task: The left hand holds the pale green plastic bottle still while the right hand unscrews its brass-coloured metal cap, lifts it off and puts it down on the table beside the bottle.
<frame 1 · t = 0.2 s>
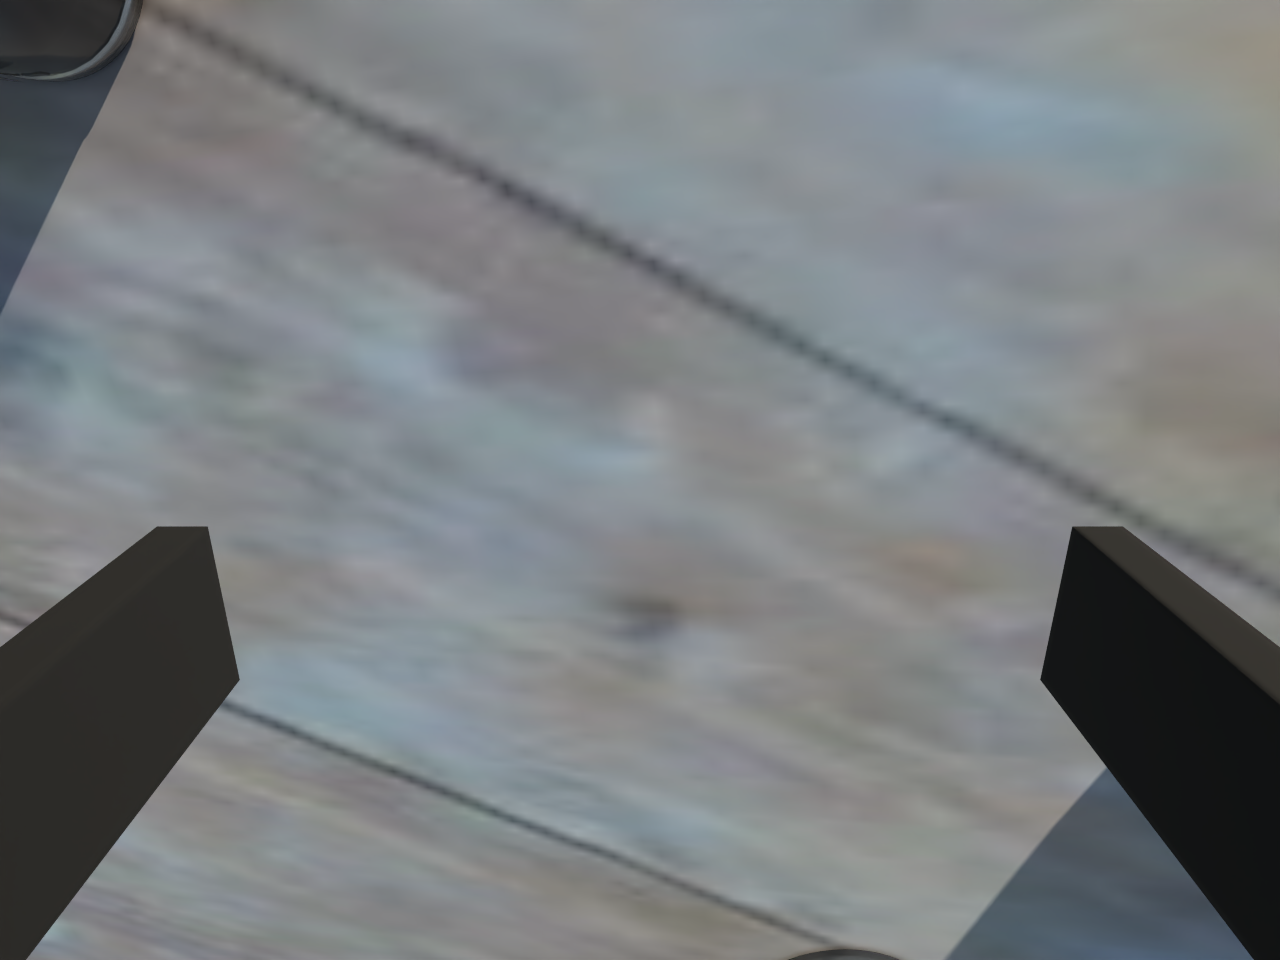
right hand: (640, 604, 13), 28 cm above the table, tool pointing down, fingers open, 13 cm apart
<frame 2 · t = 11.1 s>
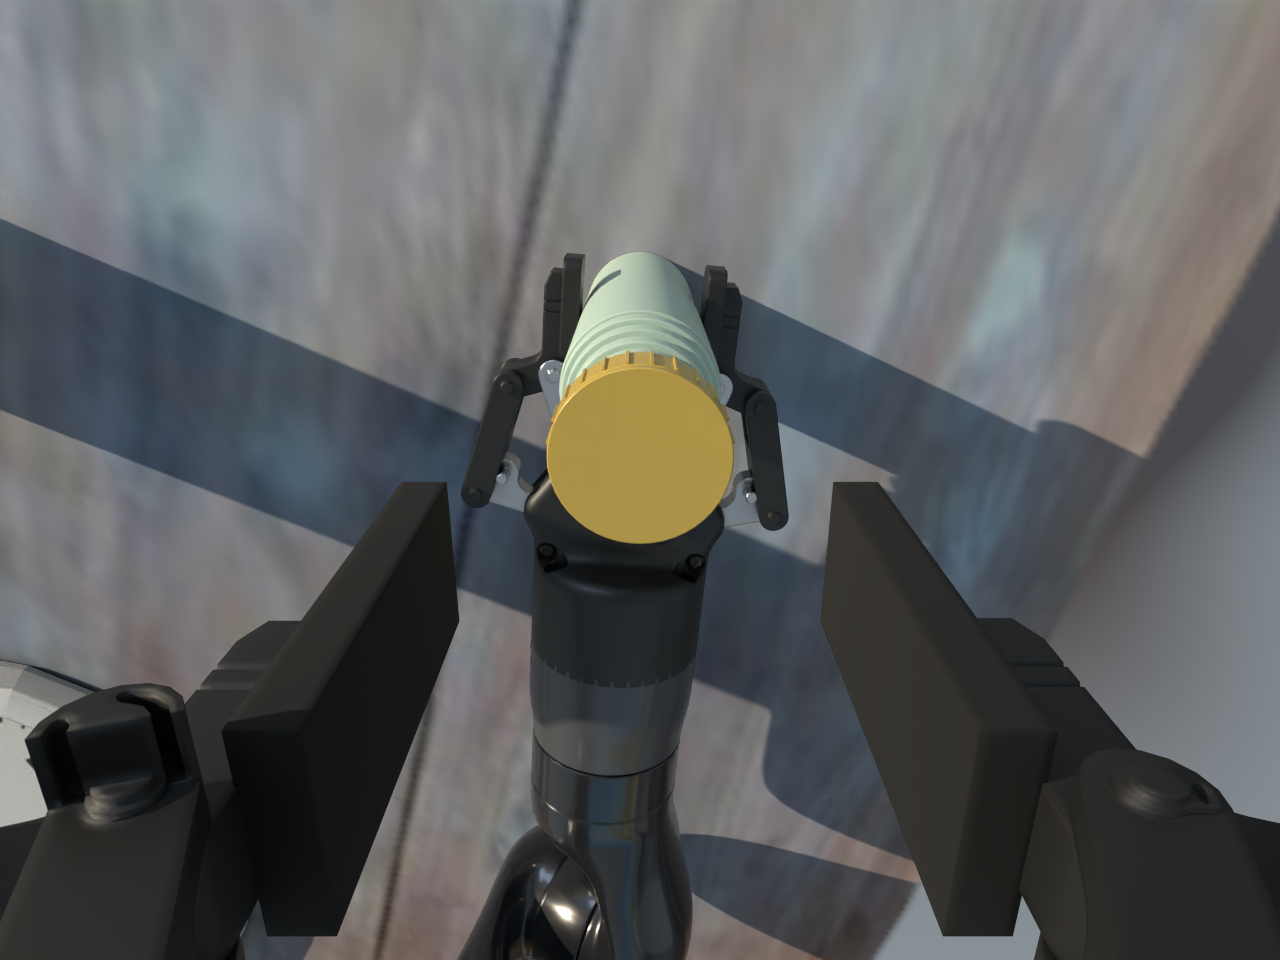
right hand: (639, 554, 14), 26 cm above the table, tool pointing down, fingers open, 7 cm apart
left hand: (645, 264, 32), fingers closed on bottle, 4 cm apart
bottle: (640, 304, 39), on the table, touching left hand
wall clock: (5, 857, 51), on the table
cap: (640, 455, 19), point 21 cm above the table, screwed on, not yet turned
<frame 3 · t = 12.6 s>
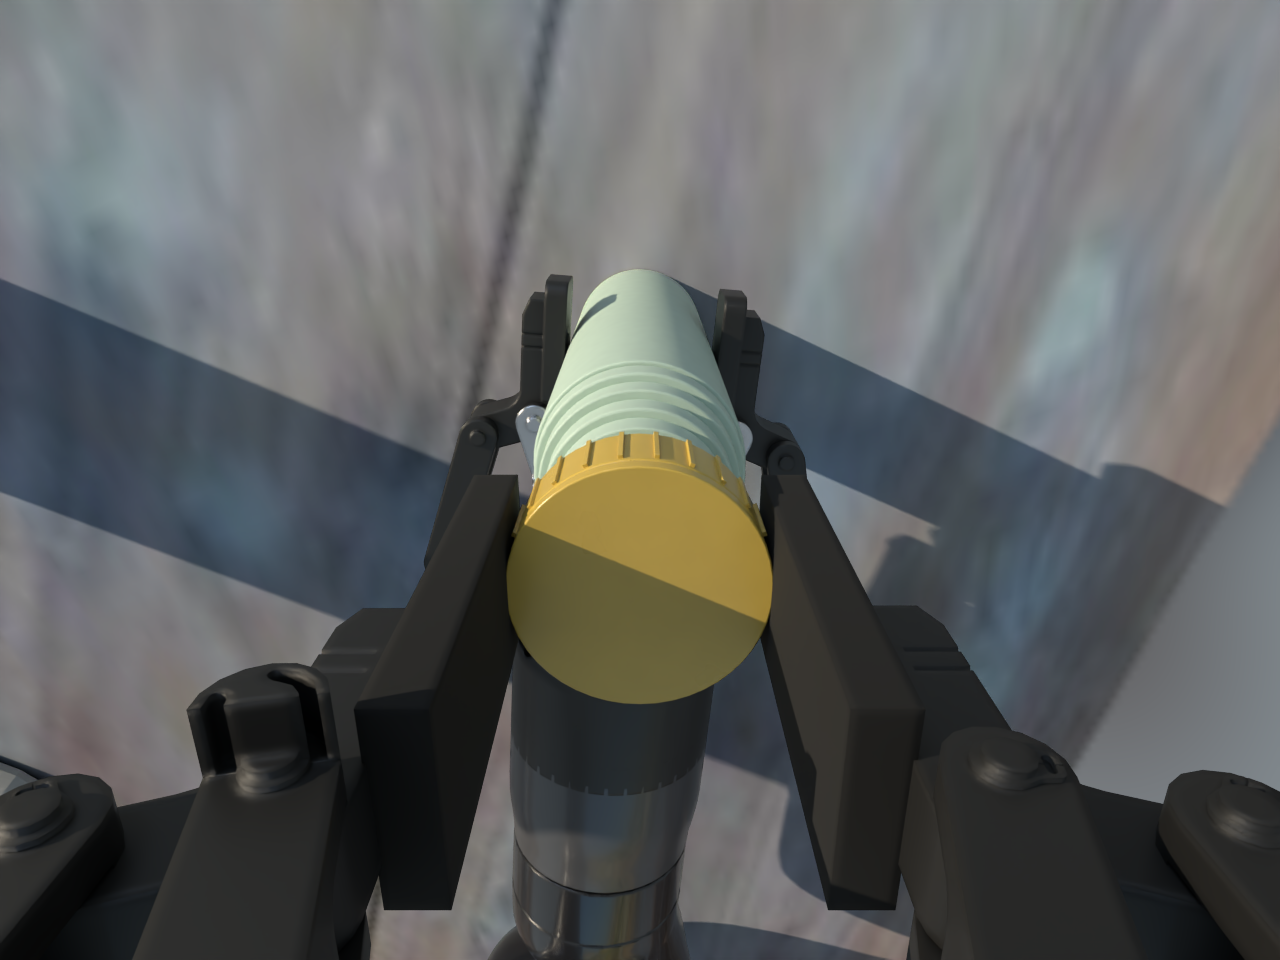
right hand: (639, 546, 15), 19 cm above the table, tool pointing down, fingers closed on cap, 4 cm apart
left hand: (645, 288, 26), fingers closed on bottle, 4 cm apart
bottle: (639, 330, 33), on the table, touching left hand
cap: (639, 583, 13), point 21 cm above the table, screwed on, not yet turned, touching right hand
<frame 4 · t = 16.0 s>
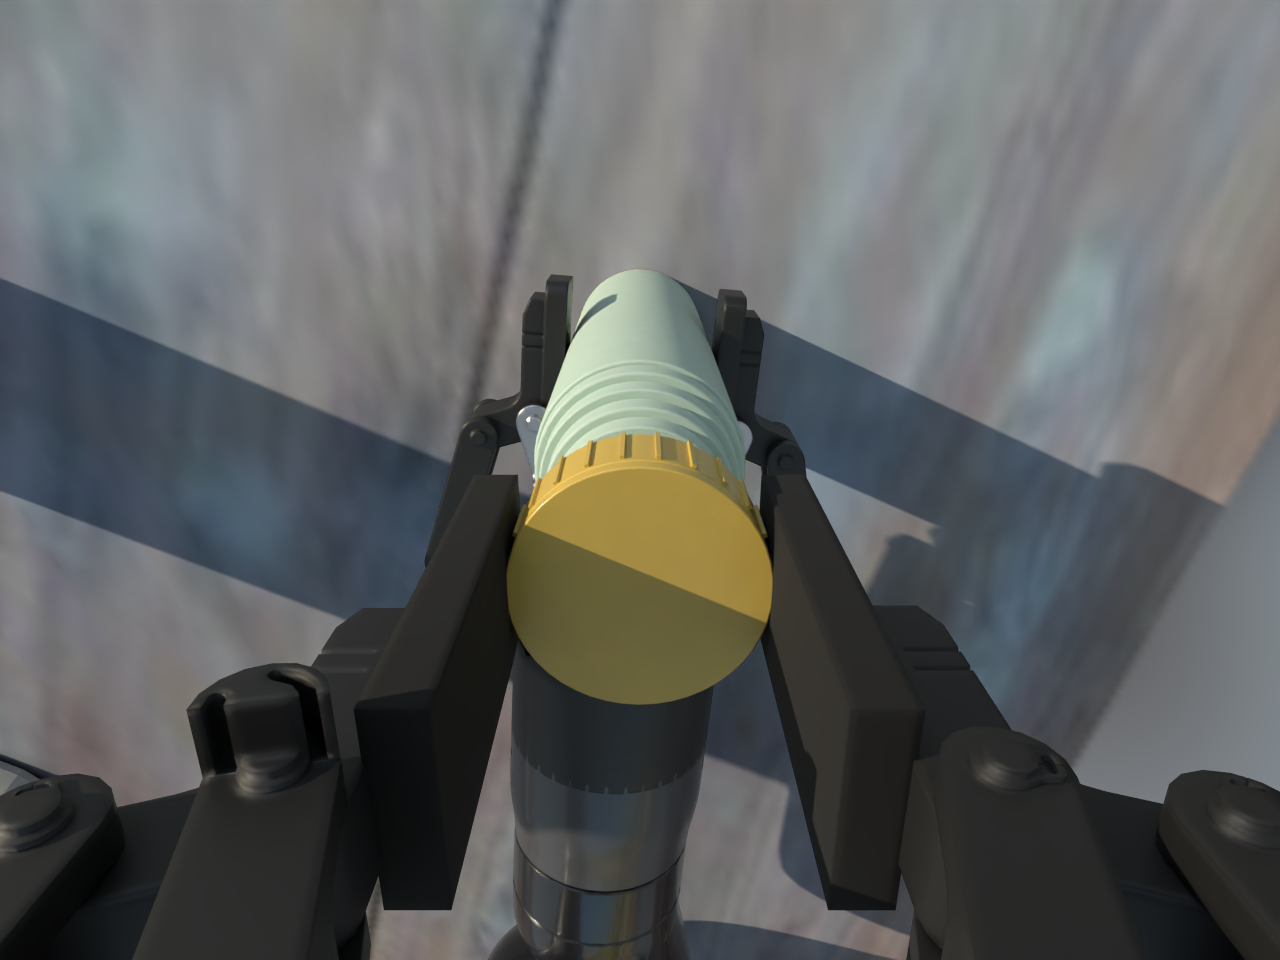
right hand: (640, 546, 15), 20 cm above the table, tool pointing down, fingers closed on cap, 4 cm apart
left hand: (645, 288, 26), fingers closed on bottle, 4 cm apart
bottle: (639, 330, 33), on the table, touching left hand
cap: (639, 584, 13), point 21 cm above the table, turned 104° so far, risen 0.1 cm, still on its thread, touching right hand
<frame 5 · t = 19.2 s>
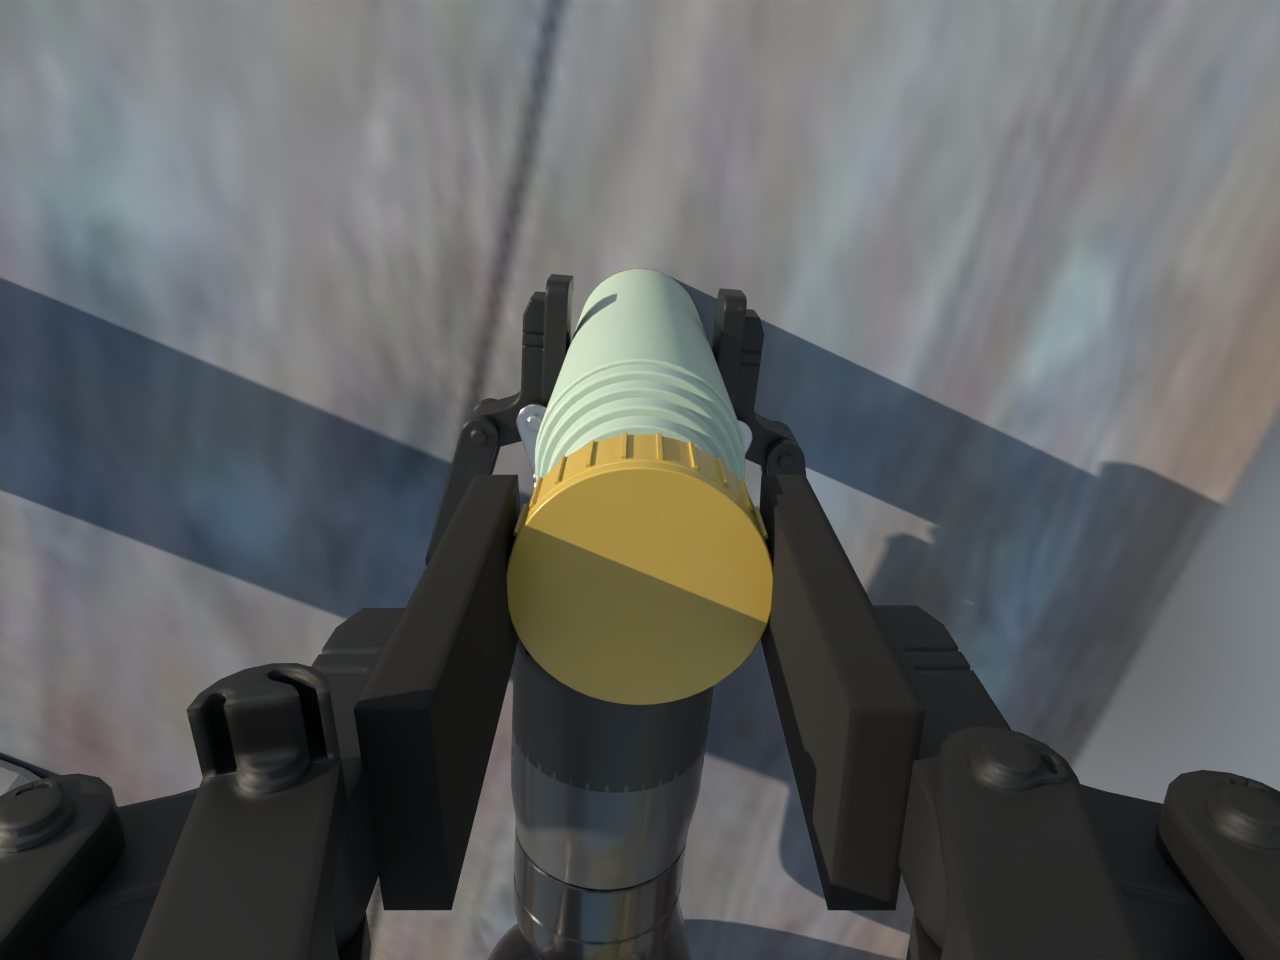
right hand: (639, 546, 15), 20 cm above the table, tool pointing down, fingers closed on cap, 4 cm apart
left hand: (645, 287, 26), fingers closed on bottle, 4 cm apart
bottle: (639, 330, 33), on the table, touching left hand
cap: (640, 584, 13), point 21 cm above the table, turned 209° so far, risen 0.2 cm, still on its thread, touching right hand
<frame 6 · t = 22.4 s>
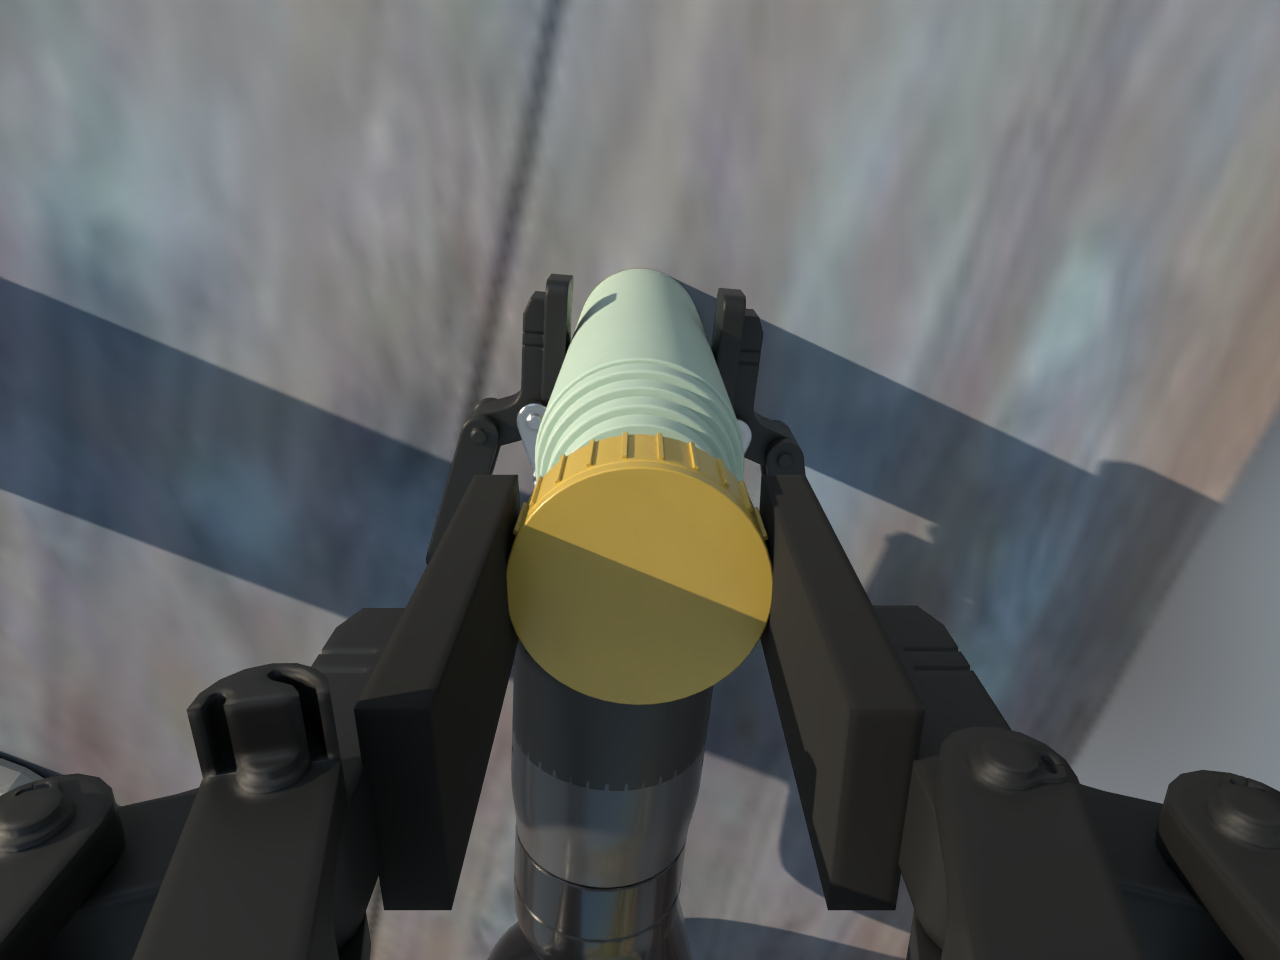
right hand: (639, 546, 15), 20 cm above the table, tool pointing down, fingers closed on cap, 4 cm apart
left hand: (645, 287, 26), fingers closed on bottle, 4 cm apart
bottle: (639, 329, 33), on the table, touching left hand
cap: (639, 584, 13), point 21 cm above the table, turned 313° so far, risen 0.3 cm, still on its thread, touching right hand
when the right hand's fingers open (2 cm above the table, at t = 28.5 s): cap drops 2 cm, point 1 cm above the table.
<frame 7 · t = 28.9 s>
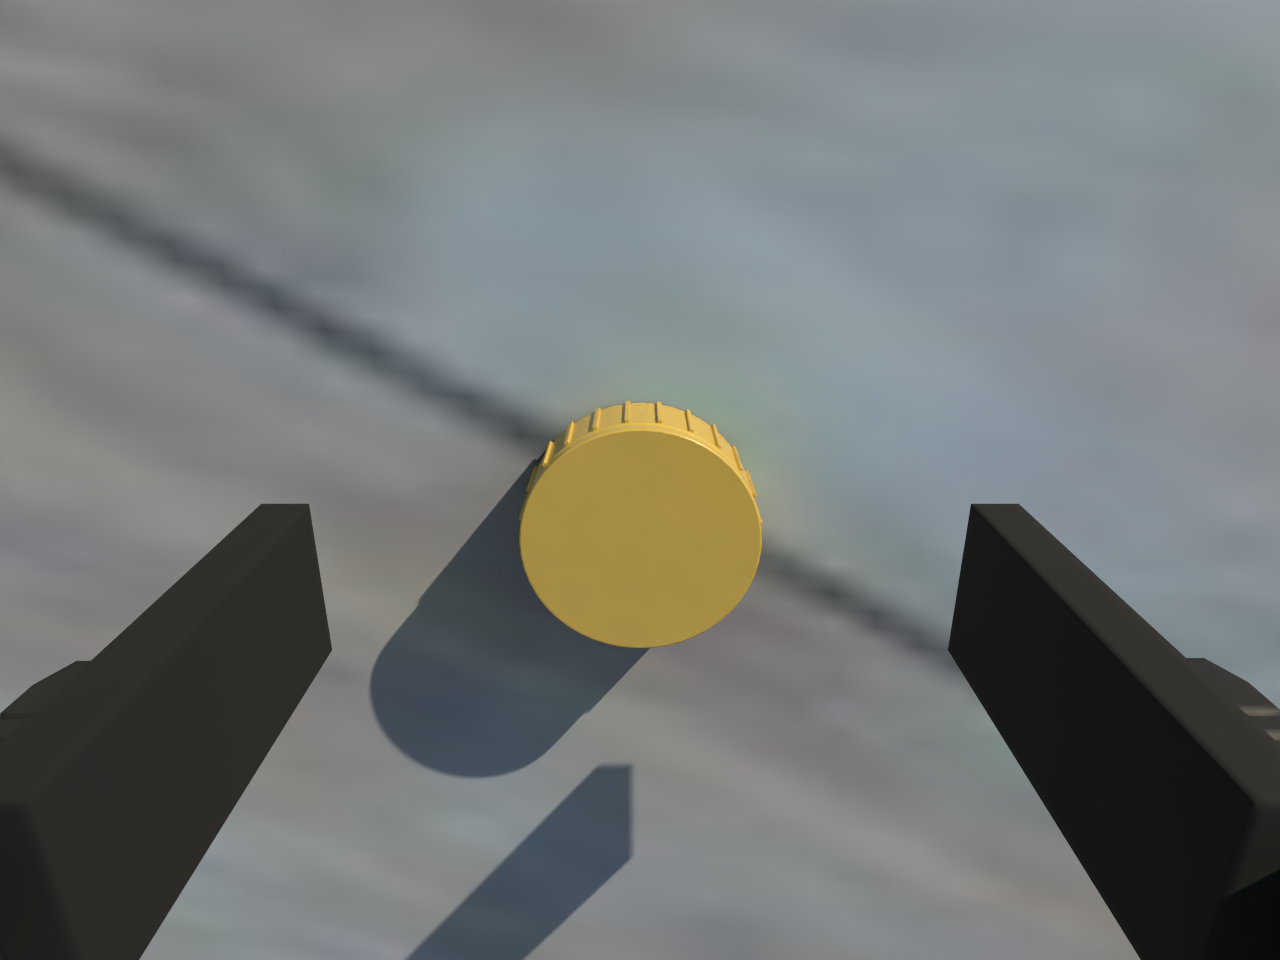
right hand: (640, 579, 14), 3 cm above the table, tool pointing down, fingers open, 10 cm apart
cap: (640, 537, 15), point 1 cm above the table, off its thread
when the left hand's fingers open (7 cm above the table, at t = 29.8 s): bottle stays where it is, on the table.
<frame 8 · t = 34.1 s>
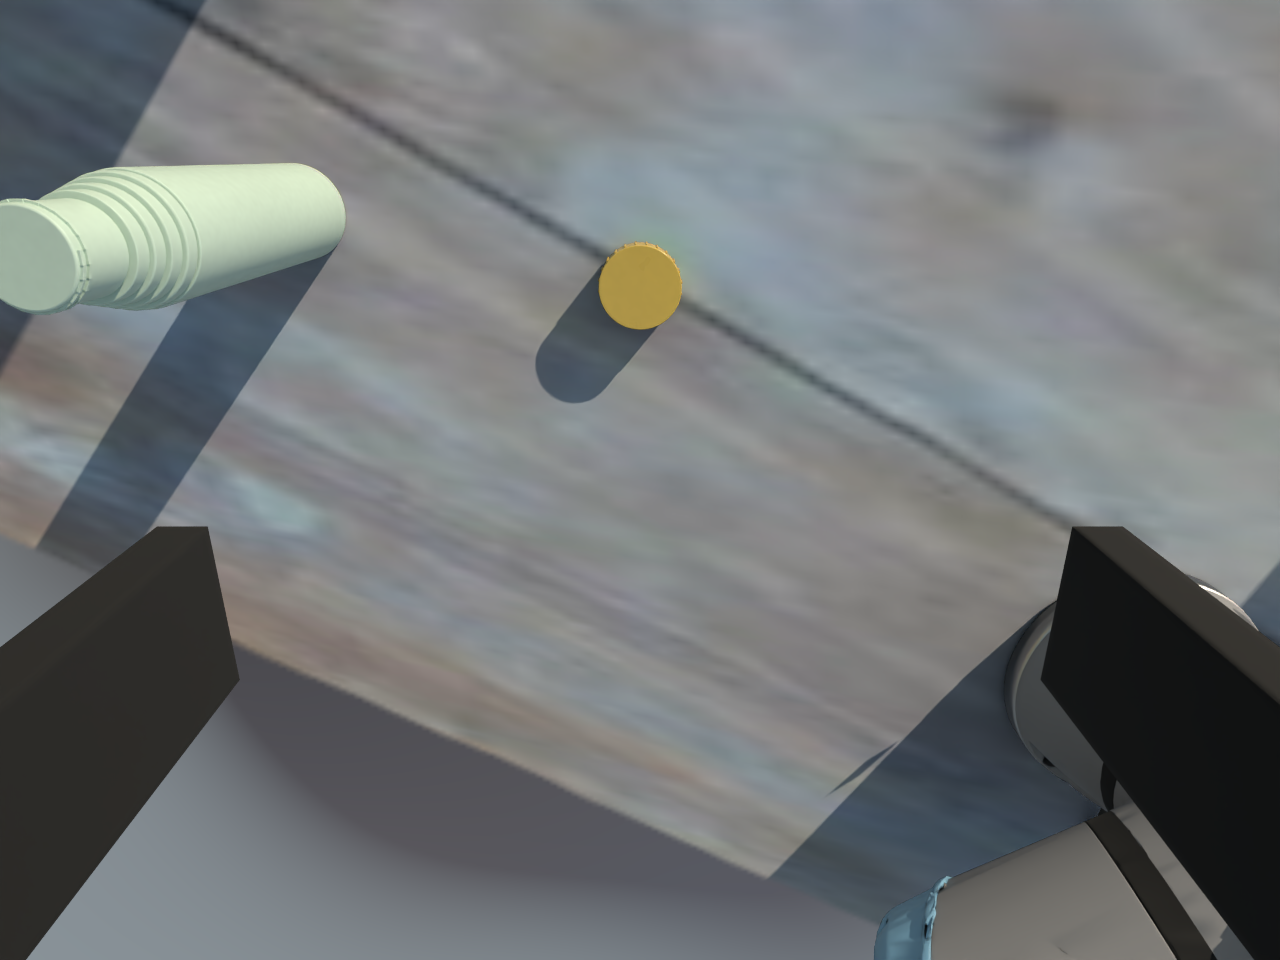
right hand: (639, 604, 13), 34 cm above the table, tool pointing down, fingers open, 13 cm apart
bottle: (299, 212, 43), on the table
cap: (640, 287, 43), point 1 cm above the table, off its thread
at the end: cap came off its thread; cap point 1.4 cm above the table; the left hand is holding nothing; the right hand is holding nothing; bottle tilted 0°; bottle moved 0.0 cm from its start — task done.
